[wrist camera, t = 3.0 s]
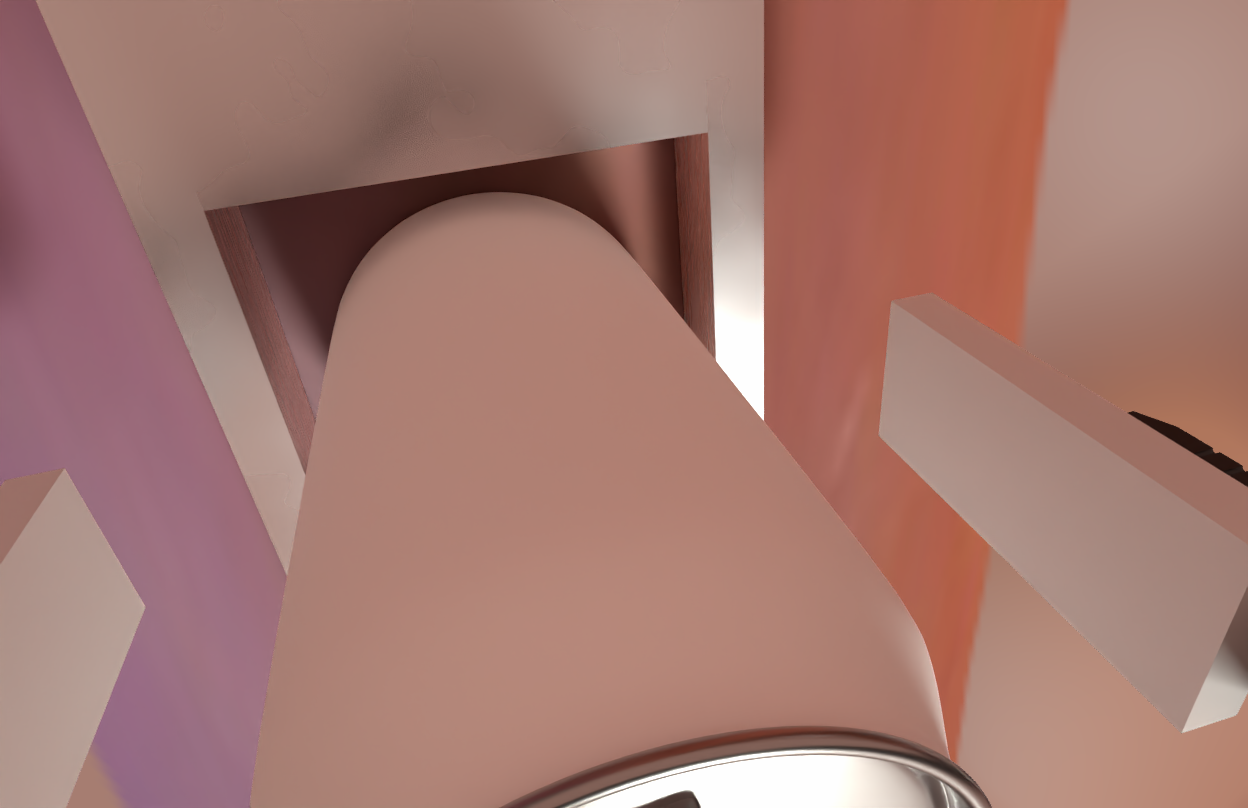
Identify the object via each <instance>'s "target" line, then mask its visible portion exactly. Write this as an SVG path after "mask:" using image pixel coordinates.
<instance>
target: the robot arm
mask: <svg viewBox="0 0 1248 808" xmlns="http://www.w3.org/2000/svg"><path fill="white" fill-rule="evenodd" d="M879 436H880V437H881V438H882V439H883V440H884V441H885V442H886V443H887V444H888V445H889V446H890V447H891V448H892V449H893V450H894V451H895V452H896V453H897V454H898V455H899V456H900V457H901V458H902V459H903V460H904V461H905V462H906V463H907V464H908V465H909V466H910V467H911V468H912V469H913V470H914V471H915V472H916V473H917V474H918V475H919V476H920V477H921V478H922V479H923V480H924V481H925V482H926V483H927V484H928V485H929V486H930V487H931V488H932V489H933V490H934V491H935V492H936V493H937V494H939V495H940V496H941V497H942V498H943V499H944V500H945V501H946V502H947V503H948V504H949V505H950V506H951V507H952V508H953V509H954V510H955V511H956V512H957V513H958V514H959V515H960V516H961V517H962V518H963V519H964V520H965V521H966V522H967V523H968V524H969V525H970V526H971V527H972V528H973V529H974V530H975V531H976V532H977V533H978V534H979V535H980V536H981V537H982V538H983V539H984V540H985V541H986V542H987V543H988V544H989V545H990V546H991V547H992V548H993V549H994V550H995V551H996V552H997V553H999V554H1000V555H1001V556H1002V557H1003V558H1004V559H1005V560H1006V561H1007V562H1008V563H1009V564H1010V565H1011V566H1012V567H1013V568H1014V569H1015V570H1016V571H1017V572H1018V573H1019V574H1020V575H1021V576H1022V577H1023V578H1024V579H1025V580H1026V581H1027V582H1028V583H1029V584H1030V585H1031V586H1032V587H1033V588H1034V589H1035V590H1036V591H1037V592H1038V593H1039V594H1040V595H1041V596H1042V597H1043V598H1044V599H1045V600H1046V601H1047V602H1048V603H1050V605H1052V607H1053V608H1055V609H1056V611H1058V612H1059V613H1060V614H1061V615H1062V616H1063V617H1064V618H1065V619H1066V620H1067V621H1068V622H1069V623H1070V624H1071V625H1072V626H1073V627H1074V628H1075V629H1076V630H1077V631H1078V632H1079V633H1080V634H1081V635H1082V636H1083V637H1084V638H1085V639H1086V640H1087V641H1088V642H1089V643H1090V644H1091V645H1092V646H1093V647H1094V648H1095V649H1096V650H1097V651H1098V652H1099V653H1100V654H1101V655H1102V656H1103V657H1104V658H1105V659H1106V660H1107V661H1108V662H1109V663H1111V665H1112V666H1114V668H1115V669H1116V670H1118V671H1119V672H1120V673H1121V674H1122V675H1123V676H1124V677H1125V678H1126V679H1127V680H1128V681H1129V682H1130V683H1131V684H1132V685H1133V686H1134V687H1135V688H1136V689H1137V690H1138V691H1139V692H1140V693H1141V694H1142V695H1143V696H1144V697H1145V698H1146V699H1147V700H1148V701H1149V702H1150V703H1151V704H1152V705H1153V706H1154V707H1155V708H1156V709H1157V710H1158V711H1159V712H1160V713H1161V714H1162V715H1163V716H1164V717H1165V718H1166V719H1167V720H1168V721H1169V722H1170V723H1171V724H1173V726H1174V727H1176V728H1177V729H1178V730H1179V731H1180V732H1181V733H1184V732H1187V731H1190V730H1193V729H1196V728H1199V727H1202V726H1205V725H1208V724H1211V723H1214V722H1217V721H1220V720H1223V719H1226V718H1229V717H1232V716H1235V715H1237V713H1238V711H1239V709H1240V707H1241V705H1242V703H1243V701H1244V699H1245V697H1246V695H1247V693H1248V471H1246V472H1245V471H1244V470H1243V466H1242V465H1240V464H1239V463H1237V462H1235V461H1234V460H1232V459H1230V458H1229V457H1227V456H1225V455H1224V454H1222V453H1220V452H1219V453H1214V452H1213V448H1212V447H1210V446H1209V445H1207V444H1205V443H1203V442H1202V441H1200V440H1198V439H1197V438H1195V437H1193V436H1192V435H1190V434H1188V433H1187V432H1185V431H1183V430H1182V429H1180V428H1178V427H1176V426H1174V425H1170V424H1168V423H1165V422H1162V421H1159V420H1156V419H1154V418H1151V417H1148V416H1145V415H1143V414H1140V413H1137V412H1134V411H1132V412H1129V413H1126V412H1125V411H1123V410H1121V409H1120V408H1118V407H1117V406H1115V405H1113V404H1112V403H1110V402H1109V401H1107V400H1105V399H1104V398H1102V397H1100V396H1099V395H1097V394H1095V393H1094V392H1092V391H1091V390H1089V389H1087V388H1086V387H1084V386H1082V385H1081V384H1079V383H1078V382H1076V381H1075V380H1073V379H1071V378H1070V377H1068V376H1066V375H1065V374H1063V373H1062V372H1060V371H1058V370H1057V369H1055V368H1053V367H1052V366H1050V365H1048V364H1047V363H1045V362H1043V361H1042V360H1040V359H1039V358H1037V357H1036V356H1034V355H1032V354H1031V353H1029V352H1027V351H1026V350H1024V349H1023V348H1021V347H1019V346H1018V345H1016V344H1014V343H1013V342H1011V341H1010V340H1008V339H1006V338H1005V337H1003V336H1001V335H1000V334H998V333H997V332H995V331H993V330H992V329H990V328H989V327H987V326H985V325H984V324H982V323H980V322H979V321H977V320H976V319H974V318H972V317H971V316H969V315H967V314H966V313H964V312H963V311H961V310H959V309H958V308H956V307H954V306H953V305H951V304H950V303H948V302H946V301H945V300H943V299H941V298H940V297H938V296H937V295H935V294H933V293H928V294H923V295H918V296H913V297H908V298H903V299H898V300H893V301H891V310H890V321H889V331H888V342H887V353H886V363H885V374H884V384H883V395H882V405H881V416H880V427H879ZM144 610H145V605H144V604H143V602H142V600H141V598H140V597H139V595H138V593H137V592H136V590H135V588H134V586H133V585H132V583H131V581H130V580H129V578H128V576H127V574H126V573H125V571H124V569H123V568H122V566H121V564H120V562H119V561H118V559H117V557H116V556H115V554H114V552H113V550H112V549H111V547H110V545H109V544H108V542H107V540H106V538H105V537H104V535H103V533H102V532H101V530H100V528H99V526H98V525H97V523H96V521H95V520H94V518H93V516H92V514H91V513H90V511H89V509H88V508H87V506H86V504H85V502H84V501H83V499H82V497H81V496H80V494H79V492H78V490H77V489H76V487H75V485H74V484H73V482H72V480H71V478H70V477H69V475H68V473H67V472H66V470H65V468H63V469H58V470H53V471H48V472H44V473H39V474H34V475H29V476H24V477H19V478H14V479H9V480H5V481H4V483H3V484H2V485H1V487H0V808H66V807H67V804H68V802H69V799H70V797H71V794H72V791H73V789H74V786H75V783H76V781H77V779H78V776H79V774H80V771H81V769H82V766H83V764H84V761H85V759H86V756H87V754H88V751H89V749H90V746H91V743H92V741H93V738H94V736H95V733H96V731H97V728H98V726H99V723H100V721H101V718H102V716H103V713H104V711H105V708H106V706H107V703H108V701H109V698H110V695H111V693H112V690H113V688H114V685H115V683H116V680H117V678H118V675H119V673H120V670H121V668H122V665H123V663H124V660H125V658H126V655H127V653H128V650H129V647H130V645H131V642H132V640H133V637H134V635H135V632H136V630H137V627H138V625H139V622H140V620H141V617H142V615H143V612H144Z"/></svg>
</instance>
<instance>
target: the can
mask: <svg viewBox="0 0 1248 808" xmlns="http://www.w3.org/2000/svg"><path fill="white" fill-rule="evenodd" d="M250 808H992V807H991V804H990V802H989V801H988V799H987V797H986V796H985V794H984V792H983V791H982V790H981V789H980V787H979V786H978V785H977V783H976V782H975V781H974V780H973V779H972V778H971V777H970V776H969V775H968V774H967V773H966V772H965V771H964V770H963V769H962V768H960V767H959V766H958V765H957V764H955V763H954V762H952V761H951V760H950V757H949V752H948V747H947V741H946V735H945V728H944V722H943V716H942V710H941V704H940V699H939V693H938V688H937V684H936V679H935V675H934V670H933V667H932V663H931V660H930V657H929V654H928V650H927V647H926V645H925V642H924V639H923V637H922V635H921V633H920V631H919V629H918V627H917V625H916V623H915V622H914V620H913V618H912V617H911V615H910V613H909V612H908V610H907V608H906V607H905V605H904V603H903V602H902V600H901V599H900V597H899V596H898V594H897V593H896V591H895V590H894V588H893V587H892V586H891V584H890V583H889V582H888V580H887V579H886V577H885V576H884V575H883V573H882V572H881V571H880V569H879V568H878V567H877V565H876V564H875V563H874V561H873V560H872V558H871V557H870V556H869V554H868V553H867V552H866V550H865V549H864V548H863V547H862V545H861V544H860V543H859V541H858V540H857V539H856V538H855V536H854V535H853V534H852V532H851V531H850V530H849V529H848V527H847V526H846V525H845V523H844V522H843V521H842V520H841V518H840V517H839V516H838V514H837V513H836V512H835V511H834V509H833V508H832V507H831V505H830V504H829V503H828V502H827V500H826V499H825V498H824V496H823V495H822V494H821V493H820V491H819V490H818V489H817V487H816V486H815V485H814V484H813V482H812V481H811V480H810V479H809V477H808V476H807V475H806V474H805V472H804V471H803V470H802V468H801V467H800V466H799V465H798V463H797V462H796V461H795V460H794V458H793V457H792V456H791V455H790V453H789V452H788V451H787V449H786V448H785V447H784V446H783V444H782V443H781V442H780V441H779V439H778V438H777V437H776V436H775V434H774V433H773V432H772V431H771V429H770V428H769V427H768V425H767V424H766V423H765V422H764V420H763V419H762V418H761V417H760V415H759V414H758V413H757V412H756V410H755V409H754V408H753V407H752V405H751V404H750V403H749V402H748V400H747V399H746V398H745V397H744V395H743V394H742V393H741V391H740V390H739V389H738V388H737V386H736V385H735V384H734V383H733V381H732V380H731V379H730V378H729V376H728V375H727V374H726V373H725V371H724V370H723V369H722V368H721V366H720V365H719V364H718V363H717V361H716V360H715V359H714V358H713V356H712V355H711V354H710V353H709V351H708V350H707V349H706V348H705V346H704V345H703V344H702V343H701V341H700V340H699V339H698V338H697V336H696V335H695V334H694V333H693V331H692V330H691V329H690V328H689V326H688V325H687V324H686V323H685V321H684V320H683V319H682V318H681V316H680V315H679V314H678V313H677V311H676V310H675V309H674V308H673V306H672V305H671V304H670V303H669V301H668V300H667V299H666V298H665V297H664V295H663V294H662V293H661V292H660V290H659V289H658V288H657V287H656V285H655V284H654V283H653V282H652V280H651V279H650V278H649V277H648V276H647V274H646V273H645V272H644V271H643V269H642V268H641V267H640V266H639V265H638V263H637V262H636V261H635V260H634V259H633V257H632V256H631V255H630V254H629V253H628V252H627V251H626V250H625V248H624V247H623V246H622V245H621V244H620V243H619V242H618V241H617V240H616V239H615V238H614V237H613V236H612V235H611V234H610V233H609V232H607V231H606V230H605V229H604V228H603V227H601V226H600V225H599V224H597V223H596V222H595V221H593V220H592V219H590V218H589V217H587V216H586V215H584V214H582V213H580V212H579V211H577V210H575V209H573V208H570V207H568V206H566V205H564V204H561V203H559V202H556V201H553V200H550V199H546V198H543V197H538V196H534V195H528V194H521V193H511V192H489V193H478V194H471V195H465V196H461V197H456V198H453V199H449V200H446V201H443V202H440V203H437V204H435V205H432V206H430V207H428V208H425V209H423V210H421V211H419V212H417V213H415V214H414V215H412V216H410V217H409V218H407V219H405V220H404V221H402V222H401V223H399V224H398V225H397V226H395V227H394V228H393V229H391V230H390V231H389V232H388V233H387V234H385V235H384V236H383V237H382V238H381V239H380V240H379V241H378V242H377V243H376V244H375V245H374V246H373V247H372V248H371V249H370V251H369V252H368V253H367V254H366V255H365V257H364V258H363V259H362V261H361V262H360V264H359V265H358V267H357V268H356V270H355V272H354V273H353V275H352V277H351V279H350V281H349V283H348V285H347V287H346V289H345V292H344V294H343V297H342V299H341V302H340V305H339V309H338V313H337V317H336V321H335V325H334V329H333V334H332V339H331V343H330V348H329V354H328V359H327V364H326V369H325V374H324V380H323V385H322V390H321V395H320V400H319V406H318V411H317V417H316V422H315V427H314V433H313V438H312V443H311V449H310V454H309V459H308V465H307V470H306V476H305V481H304V487H303V492H302V498H301V503H300V509H299V514H298V520H297V525H296V530H295V536H294V541H293V547H292V552H291V558H290V564H289V569H288V575H287V580H286V586H285V592H284V597H283V603H282V608H281V614H280V620H279V625H278V631H277V636H276V642H275V647H274V653H273V659H272V665H271V671H270V677H269V682H268V688H267V694H266V700H265V706H264V712H263V718H262V723H261V729H260V735H259V742H258V749H257V756H256V763H255V770H254V777H253V784H252V791H251V800H250Z"/></svg>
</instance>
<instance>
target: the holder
mask: <svg viewBox="0 0 1248 808" xmlns="http://www.w3.org/2000/svg"><path fill="white" fill-rule="evenodd" d="M36 3H37V5H38V7H39V9H40V12H41V14H42V16H43V19H44V21H45V23H46V25H47V28H48V30H49V32H50V35H51V37H52V39H53V41H54V44H55V46H56V48H57V51H58V53H59V55H60V57H61V60H62V62H63V64H64V67H65V69H66V71H67V73H68V76H69V78H70V80H71V83H72V85H73V87H74V90H75V92H76V94H77V96H78V99H79V101H80V103H81V106H82V108H83V110H84V112H85V115H86V117H87V119H88V122H89V124H90V126H91V128H92V131H93V133H94V135H95V138H96V140H97V142H98V144H99V147H100V149H101V151H102V154H103V156H104V158H105V160H106V163H107V165H108V167H109V170H110V172H111V174H112V177H113V179H114V181H115V183H116V186H117V188H118V190H119V193H120V195H121V197H122V199H123V202H124V204H125V206H126V209H127V211H128V213H129V215H130V218H131V220H132V222H133V225H134V227H135V229H136V231H137V234H138V236H139V238H140V241H141V243H142V245H143V247H144V250H145V252H146V254H147V257H148V259H149V261H150V263H151V266H152V268H153V270H154V273H155V275H156V277H157V280H158V282H159V284H160V286H161V289H162V291H163V293H164V296H165V298H166V300H167V302H168V305H169V307H170V309H171V312H172V314H173V316H174V318H175V321H176V323H177V325H178V328H179V330H180V332H181V334H182V337H183V339H184V341H185V344H186V346H187V348H188V350H189V353H190V355H191V357H192V360H193V362H194V364H195V367H196V369H197V371H198V373H199V376H200V378H201V380H202V383H203V385H204V387H205V389H206V392H207V394H208V396H209V399H210V401H211V403H212V405H213V408H214V410H215V412H216V415H217V417H218V419H219V421H220V424H221V426H222V428H223V431H224V433H225V435H226V437H227V440H228V442H229V444H230V447H231V449H232V451H233V454H234V456H235V458H236V460H237V463H238V465H239V467H240V470H241V472H242V474H243V476H244V479H245V481H246V483H247V486H248V488H249V490H250V492H251V495H252V497H253V499H254V502H255V504H256V506H257V508H258V511H259V513H260V515H261V518H262V520H263V522H264V524H265V527H266V529H267V531H268V534H269V536H270V538H271V541H272V543H273V545H274V547H275V550H276V552H277V554H278V557H279V559H280V561H281V563H282V566H283V568H284V570H285V573H286V575H288V569H289V564H290V558H291V552H292V547H293V541H294V536H295V530H296V525H297V520H298V514H299V509H300V503H301V498H302V492H303V487H304V481H305V476H306V470H307V465H308V459H309V454H310V449H311V443H312V438H313V433H314V427H315V422H316V421H315V418H314V415H313V413H312V410H311V407H310V404H309V401H308V399H307V396H306V393H305V390H304V388H303V385H302V382H301V379H300V376H299V374H298V371H297V368H296V365H295V362H294V360H293V357H292V354H291V351H290V349H289V346H288V343H287V340H286V337H285V335H284V332H283V329H282V326H281V324H280V321H279V318H278V315H277V312H276V310H275V307H274V304H273V301H272V298H271V296H270V293H269V290H268V287H267V285H266V282H265V279H264V276H263V273H262V271H261V268H260V265H259V262H258V260H257V257H256V254H255V251H254V248H253V246H252V243H251V240H250V237H249V234H248V232H247V229H246V226H245V223H244V221H243V218H242V215H241V212H240V209H239V207H238V206H239V205H245V204H252V203H258V202H264V201H271V200H277V199H284V198H290V197H297V196H303V195H309V194H316V193H322V192H329V191H335V190H341V189H348V188H354V187H361V186H367V185H374V184H380V183H386V182H393V181H399V180H406V179H412V178H419V177H425V176H431V175H438V174H444V173H451V172H457V171H463V170H470V169H476V168H483V167H489V166H496V165H502V164H508V163H515V162H521V161H528V160H534V159H541V158H547V157H553V156H560V155H566V154H573V153H579V152H585V151H592V150H598V149H605V148H611V147H618V146H624V145H630V144H637V143H643V142H650V141H656V140H663V139H669V138H674V151H675V168H676V186H677V203H678V220H679V237H680V254H681V271H682V289H683V306H684V321H685V323H686V324H687V325H688V326H689V328H690V329H691V330H692V331H693V333H694V334H695V335H696V336H697V338H698V339H699V340H700V341H701V343H702V344H703V345H704V346H705V348H706V349H707V350H708V351H709V353H710V354H711V355H712V356H713V358H714V359H715V360H716V361H717V363H718V364H719V365H720V366H721V368H722V369H723V370H724V371H725V373H726V374H727V375H728V376H729V378H730V379H731V380H732V381H733V383H734V384H735V385H736V386H737V388H738V389H739V390H740V391H741V393H742V394H743V395H744V397H745V398H746V399H747V400H748V402H749V403H750V404H751V405H752V407H753V408H754V409H755V410H756V412H757V413H758V414H759V415H760V417H761V418H762V419H763V420H764V0H36Z"/></svg>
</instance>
